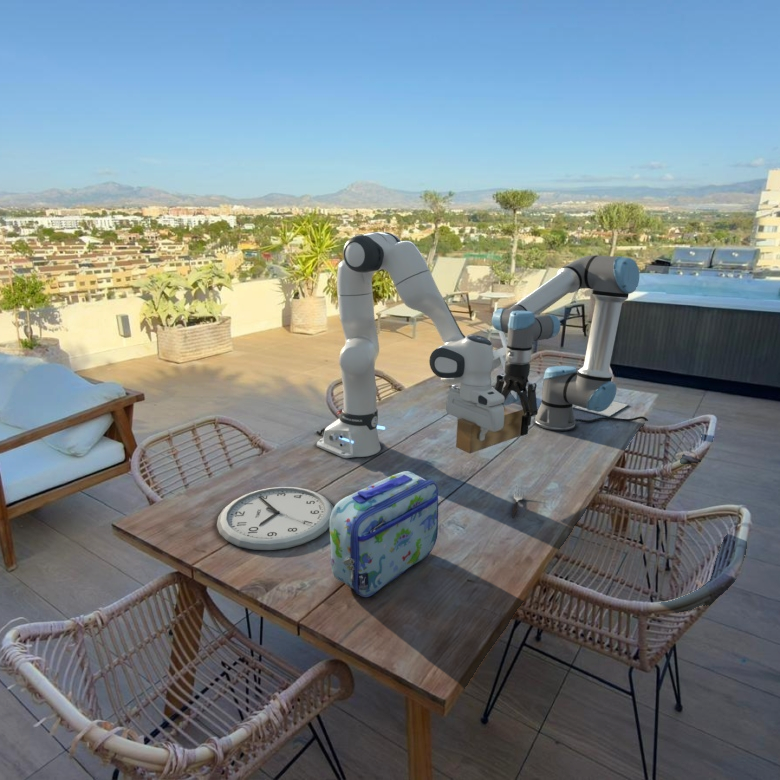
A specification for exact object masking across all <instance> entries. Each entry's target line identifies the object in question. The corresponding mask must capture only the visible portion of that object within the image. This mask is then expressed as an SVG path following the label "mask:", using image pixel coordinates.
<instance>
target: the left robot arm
mask: <svg viewBox="0 0 780 780" xmlns="http://www.w3.org/2000/svg"><path fill="white" fill-rule="evenodd" d="M342 258H343V259H342V260H341V261H340V262H339V264H338V266H337V273H336V274H337V275H336V291H337V304H338V314H339V321H340V323H341V327H342V331H343V334H344V336H343V337H344V340H345V342H344V346H342V348H341V349H340V351H339V358H338V362H339V367H340V375H341V382H342V392H343V393H342V394H343V407H341V409H340V410H338V411H337V412H336V413H337V414H336V415H337V416H338V415H339V417H338V418H337V419H336V420H334V421H333V422H331V423H330V424H329V425H328V426H325V427H323V428H321V429H320V431H319V430H317V431H316V434H318V435H322V436H323V437H321V438H320V439H319V440H317V442H316V447H317V448H319V449H322V450H324V451H326V452H329V453H331V454H334V455H336V456H338V457H340V458H343V459H350V458H351V459H352V458H364V457H370V456H374V455H376V454H378V453H379V452H381V450H382V446H381V444H380V440H379V434H378V430H383V431H384V430H386V427H385V426H382V425H378V424H379V423H378V422H379V411H378V408H377V402H378V401H377V399H378V397H377V395H378V392H377V390H378V389H377V388H378V387H377V381H376V370H375V367H376V360H377V359H378V357H379V354H380V343H379V336H378V329H377V324H376V319H375V306H374V292H373V276H374V275H375V273H376V272H382V271H385V272H386V273H387V274H388V275H389V276H390V278H391V281H392V283H393V286H394V287H395V290H396V292H397V294H398V297H399V298H400V300H401V301H402V303H403V304H404V305H405V306H406V307H407V308H409V309H411V310H414V311H417V312H419V313H421V314H424V315H425V316H427V317H428V318H429V319H430V320H431V321H432V323H433V325H434V327H435V329H436V331H437V333H438V335H439V336H440V339H441V340H442V343H443V345H440V346H438V347H437V348H436V349H434V350H432V352H431V354H430V356H429V360H428V361H429V367H430V370H431V372H432V373H433V374H434V375H435V376H436V377H438V378H440V379H441V378H460V379H461V382H460V383H459V385H458V384H452V385H451V386H450V387H449V389H448V394H447V399H446V402H445V403H446V405H445V410H446V413H447V414H448V415H450V416H453V417H456V418H457V419H456V420H457V422H458V419H461V418H463V419H465V420H468V421H470V422H473V423H475V424H476V425H478V426H480V430H482V431H481V433H479V434H477V439H478V440H481V441H482V440H484V439H485V434H486V433H487V431H488V430H490V431H493V432H495V431H499V430H501V429H502V428H503V426H504V407H503V406H504V405H502V404H501V403H504V404H505V402H504V401H506V400H505V397H504V396H503V395H502V394H500V393H499V392H498V391H497V390H495V387H493V386H492V377H491V375H492V372H493V371H492V368H493V350H494V348H493V344H492V342H491V340H489V339H488V337H485V336H481V335H477V334H476V335H475V334H469V335H467V336H465V335H464V333H463V331H462V330H461V328H460V327H459V324H458V323H457V320H456V319H455V317H454V315H453V312H452V311H451V309H450V307H449V306H448V303H447V302H446V300H445V299H444V297H443V295H442V294H441V292H440V290H439V288H438V286H437V284H436V281H435V278H434V277H433V275H432V272H431V269H430V268H429V266H428V264H427V262H426V260H425V259H424V256H423V255H422V253H421V251H420V250H419V249H418V247H417V246H416V245H415V243H413V242H412V241H409V240H403V241H402V240H401V239H400V238H399V237H398V236H397V235H395V234H393V233H391V232H387V231H386V232H384V231H383V232H369V233H364V234H357V235H354V236H352V237H351V238H349V239H347V241H346V242H345V244H344V246H343V250H342ZM491 371H492V372H491Z"/></svg>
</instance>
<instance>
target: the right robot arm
mask: <svg viewBox="0 0 780 780" xmlns="http://www.w3.org/2000/svg"><path fill="white" fill-rule="evenodd" d="M639 283H640V269H639V266H638V263H637V262H636V261H635V260H634V259H633V258H631V257H625V256H613V255H612V256H611V255H598V254H597V255H595V254H594V255H593V254H592V255H587V256H583V257H580V258H578V259H575V260H573V261H571V262H569V263H568V264H566V265H564V266H563V267H562V268H560V269H558V271H557V272H556V275H555V276H553V277H552V278H551V279H549V280H548V281H545V283H543V284H542V285H540V286H539V287H538V288H536V289H535V290H534V291H533V292H531V293H529V294H528V295H526V296H525V297H523V298H522V299H521V300H519V301H518V302H517V303H515V304H514V305H512V306H511V307H509V308H498V309H496V310H495V313H494V314H493V313H492V318H491V323H492V326H493V328H494V329H495V330H496V331H498V330H499V331H502V332H504V333H506V334H507V338H506V340H507V350H506V360H507V361H506V362H505V373H502V374H497V375H496V382H495V386H494V389H495V390H497V391H498V392H499V393H500V394H502V395H503V396H504V397H505V401H506V400H507V398H509V397H508V396H509V395H510V394H511V391H515V392H516V395H517V396H518V397H519V401H520V406H522V408H523V411H524V415H523V416H522V422H521V433H520V435H521V436H522V437H523V436H526V435H529V427H530V426H531V424H532V417H534V416H535V417H534V424H535V425H536V426H537V427H539V428H542V429H544V430H549V431H556V432H567V431H572V430H574V429H575V428H576V422H579V423H594V422H596V421H602V420H610V421H611V420H612V421H621V422H632V421H633V422H634V421H637V420H644V421H646V422H649V419H648V418H647V417H645V416H637V417H633V418H621V417H612V416H609V417H608V416H600V417H597V418H594V419H581V418H575V417H576V416H575V413H574V407H573V406H575V407H576V406H579V407H583V408H586V409H588V410H593V411H596V412H601V411H604V410H605V409H607V408H608V407H609V406H610V405H611V403H612V402H613V401H614V400H615V398H616V395H617V389H618V388H617V384H616V383H614V381H612V380H613V375H612V373H611V372H610V367H611V366H610V365H611V361H612V356H613V349H614V345H615V341H616V336H617V330H618V326H619V320H620V316H621V310H622V306H623V303H624V302H626V301H627V300H628V299H629V295H630V294H633V293H634V292H636V290H637V287H638V286H639ZM582 289H583V290H585V289H589V290H592V294H591V295H592V296H593V298H594V300H595V303H594V307H593V314H592V319H591V325H590V329H589V334H588V340H587V345H586V351H585V357H584V361H583V362H584V363H583V366H582V367H581V368H579V369H578V368H577V367H576V366H571V365H570V366H569V365H557V366H556V365H555V366H550V367H547V368H546V369H545V371H544V375H543V378H542V379H543V381H542V382H543V383H542V394H541V402H540V405H539V407H538V403H537V401H538V400H537V393H536V391H537V386H538V385H537V383H536V382H534V383H532V382H530V381H529V375H530V372H531V371H530V370H531V363H530V362H531V361H532V352H533V351H532V350H533V349H532V348H533V342H536V341H543V340H549V339H552V338H555V337H556V336H557V335H559V333H560V332H561V321H560V319H559V318H558V317H557V316H556V315H554V314H548V313H545V314H542V313H544V311H546V310H547V309H549V308H550V307H552V306H553V305H554V304H555V303H557V302H558V301H560V300H561V299H563V298H564V297H565V296H567V295H568V294H573V293H575V292H576V291H578V290H582ZM499 331H498V332H499ZM526 386H527V389H528V391H527V389H526ZM527 394H528V396H527ZM505 401H504V403H501V404H502V405H503V406H505ZM521 436H520V437H521Z"/></svg>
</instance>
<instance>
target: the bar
mask: <svg viewBox="0 0 780 780" xmlns="http://www.w3.org/2000/svg"><path fill="white" fill-rule="evenodd" d="M503 407H504V426H503V428H502V429H501V430H499V431H495V432H493V431H490V430H488V431H487V433H486V434H485V439H484V440H482V441H481V440H478V439H477V434H479V433H481V431H482V430H480V426H478V425H476V424H475V423H473V422H470V421H468V420H465V419H463V418H461V419H458V421H457V425H456V439H455V440H456V441H455V448H456V449H459V450H461V451H463V452H465V453H467V454H473V453H476V452H479V451H481V450H484V449H487V448H491V447H493V446H495V445H499V444H501V443H504V442H508V441H510V440H513V439H515V438H518V437H521V435H520V433H521V422H522V416H523V415H524V411H523V408H522V405H521V404H518V403H515V402H513V403H510V404H506V405H503Z"/></svg>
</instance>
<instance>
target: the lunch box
mask: <svg viewBox="0 0 780 780" xmlns="http://www.w3.org/2000/svg"><path fill="white" fill-rule="evenodd" d="M438 531H439V490H438V485H437V483H436V482H435V481H434V480H432V479H424V478H423V477H422V476H420V475H417V474H415V473H414V472H412V471H408V470H406V471H405V470H404V471H400V472H399V473H395V474H393V475H391V476H388V477H386V478H384V479H382V480H379V481H377V482H375V483H373V484H371V485H368V486H366V487H364V488H362V489H360V490H358V491H356V492H353V493H352V494H350V495H347V496H345V497H343V498H342V499H340V500H339V501H338V502H337V503H335V505H334V506H333V510H332V513H331V516H330V526H329V541H330V565H331V572H332V575H333V577H334V579H335V580H337V581H339V582H341V583H343V584H345V585H347V586H348V587H349V588H351V589H352V590H354V592H355V594H357V595H359V596H360V597H363V598H369V597H371V596H374V595H375V594H376V593H377V592H378V591H380V590H381V589H383V588H384V587H385V586H386V585H387V584H389V583H390V582H392V581H393V580H395V579H397V578H398V577H399V576H400V575H402V574H403V573H404V572H405V571H406V570H408V569H409V568H410V567H412V566H413V565H416V564H417V563H419V562H421V561H422V560H424V559H425V558H426V557H428V555H430V553H431V552H432V550H433V549H434V547H435V545H436V542H437V540H438Z"/></svg>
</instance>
